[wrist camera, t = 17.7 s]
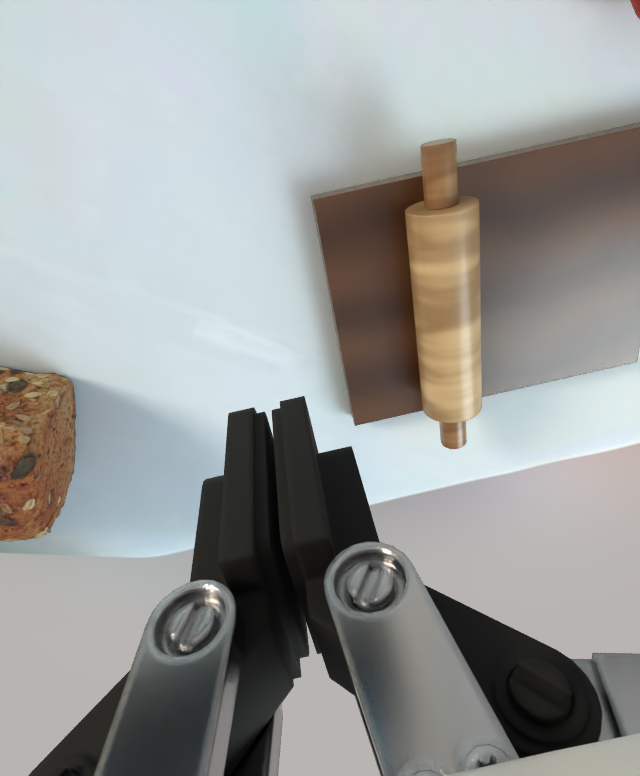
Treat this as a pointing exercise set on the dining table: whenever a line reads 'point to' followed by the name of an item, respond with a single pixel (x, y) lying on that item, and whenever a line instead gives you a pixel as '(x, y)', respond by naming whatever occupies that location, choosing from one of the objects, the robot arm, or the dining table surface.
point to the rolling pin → (446, 293)
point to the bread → (34, 451)
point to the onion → (636, 6)
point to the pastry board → (495, 269)
